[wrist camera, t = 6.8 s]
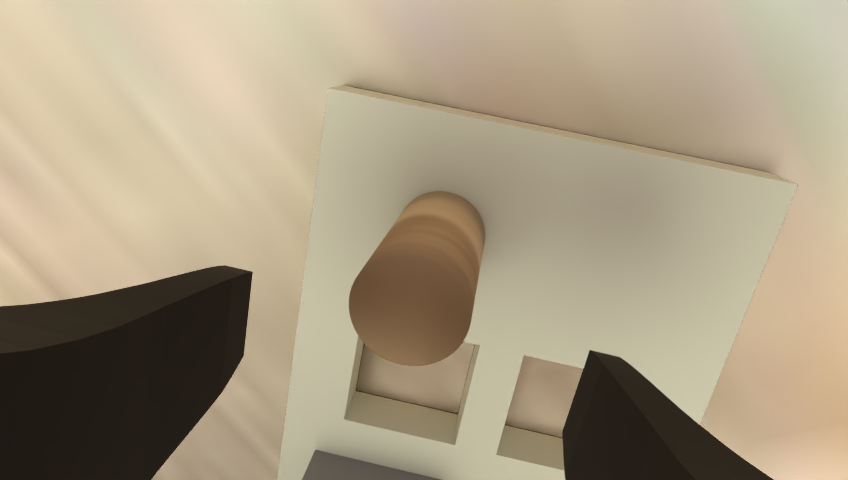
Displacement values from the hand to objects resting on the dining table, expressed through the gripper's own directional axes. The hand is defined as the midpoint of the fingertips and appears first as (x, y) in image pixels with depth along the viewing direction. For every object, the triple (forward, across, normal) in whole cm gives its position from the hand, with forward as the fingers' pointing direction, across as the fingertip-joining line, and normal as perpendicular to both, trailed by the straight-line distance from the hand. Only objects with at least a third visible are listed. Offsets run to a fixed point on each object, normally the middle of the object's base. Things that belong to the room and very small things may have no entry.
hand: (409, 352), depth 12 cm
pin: (+8, 0, 0) cm, 8 cm away
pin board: (+10, -3, +6) cm, 12 cm away
